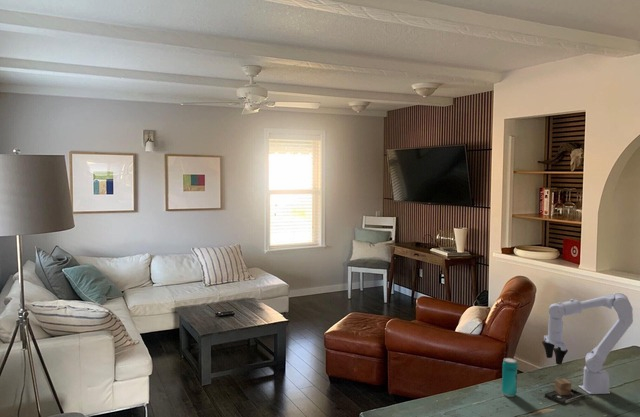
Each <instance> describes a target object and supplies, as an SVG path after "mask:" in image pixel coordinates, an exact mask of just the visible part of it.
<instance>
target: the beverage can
mask: <svg viewBox="0 0 640 417" xmlns="http://www.w3.org/2000/svg"><path fill="white" fill-rule="evenodd" d="M501 372H502V373H501V375H502V378H501V380H502V382H501V391H502V394H503V395H504V396H505V397H508V398H509V397H510V398H513V397H516V394H517V387H518V381H517V380H518V362H517V359H514V358H511V357H504V358H503V362H502V371H501Z"/></svg>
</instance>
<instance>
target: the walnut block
mask: <svg viewBox="0 0 640 417" xmlns="http://www.w3.org/2000/svg"><path fill="white" fill-rule="evenodd" d="M571 389H572V382H570V381H569V380H568V379H566V378H555V379H554V391H556V392H557V393H558V394H560V395H571Z"/></svg>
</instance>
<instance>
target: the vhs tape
mask: <svg viewBox="0 0 640 417" xmlns="http://www.w3.org/2000/svg"><path fill="white" fill-rule="evenodd" d="M544 398H547V399H548V400H551V401H553V402H555V403H557V404H559V405H564V404H567V403H570V402H573V401H575V400H579V399H581V398H584V393H583V392H580V391H578V390H574V389H572V388H571V395H560V394H558V393H557V392H556V391H555V390H552V391H549V392H547V393H544Z"/></svg>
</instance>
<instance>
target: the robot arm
mask: <svg viewBox="0 0 640 417" xmlns="http://www.w3.org/2000/svg"><path fill="white" fill-rule="evenodd" d="M599 307H606V308H608V309H610V310H612V307H613V309H614V311H615V312H616V313H617V317H618V318H617V320H616V321H615V322H614V323H613V325H612V326H611V327H610V329H609V330H607V333H606V334H605V335H604V336H603V338H602V339H601V341H600V342H599V343H598V344H597V345H596V347H593V348H592V350H591V351H589V352H587V353H586V354H585V357H584V361H585V366H584V367H583V379H582V382H583V383H582V385H578V387H579V389H582V390H583V391H584V392H586V393H587V394H589V395H600V394H601V395H602V394H605V395H606V394H611V392H610V374H609V372H608V371H607V370H605V369H603V368H604V367H603V365H604V363H605V362H606V360H607V357H608V355H610V352H612V350H613V349H614V348H615V346H616V344H618V342H619V341H620V339H622V337H623V336H624V335H625V334H626V332H627V331H628V329H629V328H630V327H631V325H632V324H633V321H634V320H633V319H634V318H633V317H634V314H633V306H632V305H631V302H630V300H629V298H628V296H627V295H625V294H624V293H620V292H619V293H615V294H614V293H611V294H606V295H602V296H598V297H595V298H590V299H587V300H582V301H579V299H573V298H570V299H569V301H568V300H567V301H563V302H562V301H558V303H557V302H556V303H555V302H554V303H552V304H550V305H549V307H548V322H547V323H548V326H547V334H546V335H545V334H544V335H543V341H542V342H541V343H542V346H543V347H544V350H545V356H546V358H547V359H552V358H553V354H554V356H555V364H556V365H562V364H563V361H564V357H565V355H566V354H567V353H568V351H569V350H568V349H567V345H565V343H564V342H563V327H564V324H563V322H564V321H563V317H564V316H570V315H571V316H572V315H576V314H581V313H582V311H584V310H587V309H591V308H599ZM556 347H557V348H556Z"/></svg>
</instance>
